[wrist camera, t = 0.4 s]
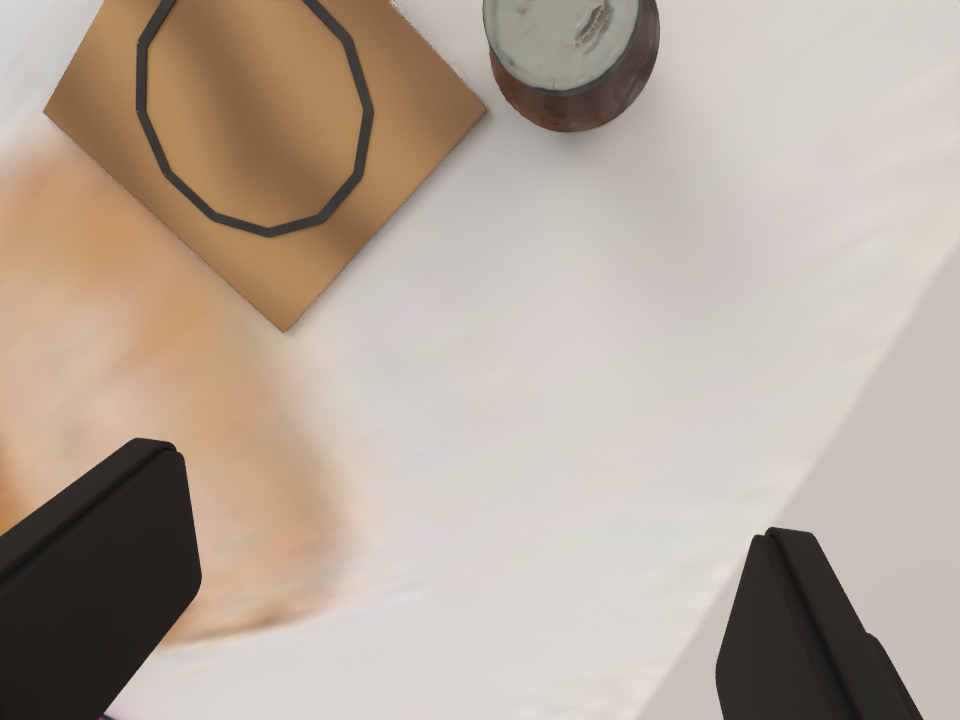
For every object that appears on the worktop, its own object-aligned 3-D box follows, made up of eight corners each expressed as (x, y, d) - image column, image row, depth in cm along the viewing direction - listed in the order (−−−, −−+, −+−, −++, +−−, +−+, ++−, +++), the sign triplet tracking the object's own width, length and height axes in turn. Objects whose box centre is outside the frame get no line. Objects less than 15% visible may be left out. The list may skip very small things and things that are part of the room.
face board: (216, -186, 32) (208, -193, 31) (488, 109, 35) (486, 109, 34) (49, 111, 39) (39, 112, 38) (286, 330, 43) (282, 334, 42)
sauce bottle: (657, 93, 33) (743, 81, 15) (554, 151, 35) (522, 201, 17) (606, -28, 32) (635, -204, 14) (500, 40, 34) (402, -35, 16)
